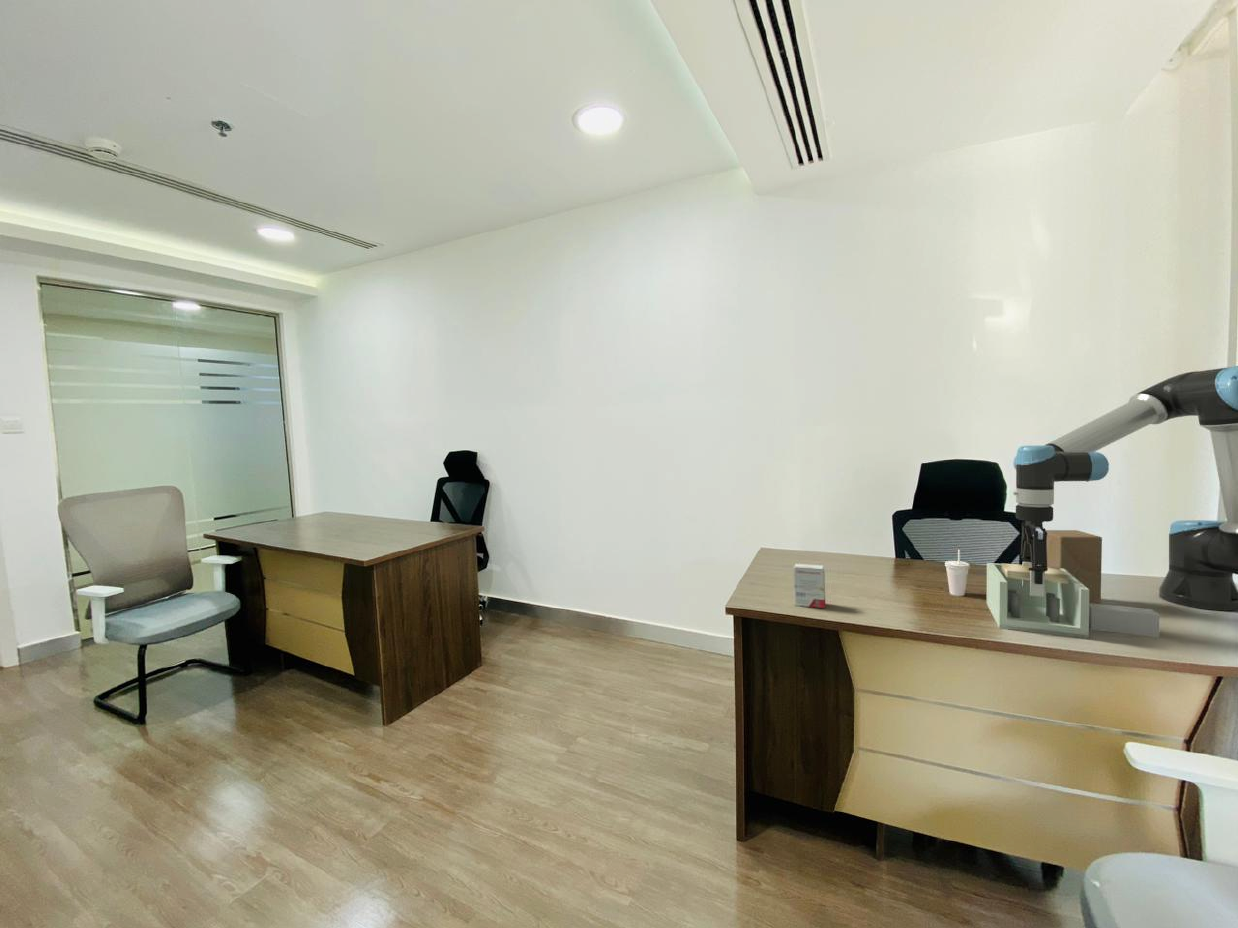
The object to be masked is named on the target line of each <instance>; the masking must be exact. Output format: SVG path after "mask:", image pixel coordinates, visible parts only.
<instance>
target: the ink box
mask: <svg viewBox="0 0 1238 928" xmlns="http://www.w3.org/2000/svg"><path fill="white" fill-rule="evenodd" d="M825 573H826V571H825V565H819V564H804V563H794V565H793V605H794V606H797V607H807V608H817V609H825V608H826V583H825V582H826V581H825V580H826V578H825V577H826V575H825Z"/></svg>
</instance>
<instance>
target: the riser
mask: <svg viewBox="0 0 1238 928" xmlns="http://www.w3.org/2000/svg"><path fill="white" fill-rule="evenodd" d="M1089 629H1090V630H1091V631H1092V630H1093V631H1099V632H1100V631H1101V632H1108V633H1109V632H1110V633H1119V634H1127V635H1135V636H1143V637H1151V638H1157V639H1158V638H1160V613H1158V612H1157V611H1155V610H1154V609H1152V608H1141V607H1133V606H1132V607H1131V606H1121V605H1111V604H1110V605H1109V604H1092V603H1089Z"/></svg>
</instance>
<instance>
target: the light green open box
mask: <svg viewBox="0 0 1238 928" xmlns="http://www.w3.org/2000/svg"><path fill="white" fill-rule="evenodd" d="M1001 564H1002V563H995V562H986V605H987V608H988V609H989V611H990V612H991V615H992V617H993V618H994V620H995V622H996V624H997V626H998V628H999V629H1005V630H1013V631H1019V632H1027V633H1028V632H1030V633H1035V634H1043V635H1053V636H1060V637H1066V638H1067V637H1068V638H1074V639H1075V638H1077V639H1082V640H1089V639H1090V638H1089V634H1090V633H1089V632H1090V631H1089V629H1090V628H1089V589H1088V588H1087V587H1085V586H1084V585H1083V584H1082V583H1081V582H1079V581H1078V580H1077V579H1076V578H1075V577H1073V576H1072V575H1071V574H1070V573H1069V572H1067V571H1066V570H1065V569H1062V568H1059V569H1061V570H1062V571H1063V572H1064V573H1065V574H1066V575H1068V584H1067V583H1056V582H1045V586H1044V597H1041V596H1031V595H1030V587H1029V586H1022V579H1011V578H1007V577H1006V576H1005V574H1004V573H1003V572H1002V571H1001Z"/></svg>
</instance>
